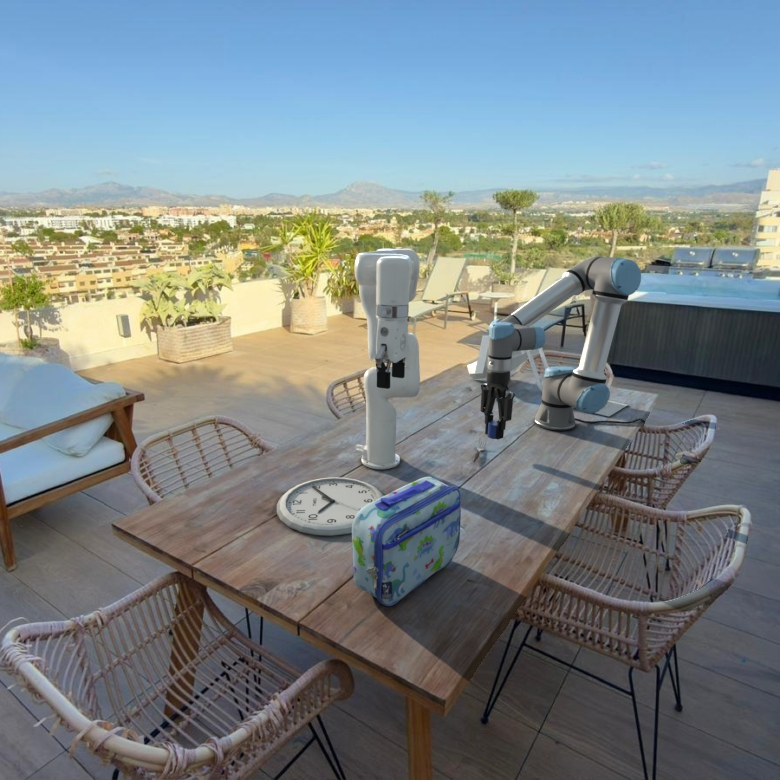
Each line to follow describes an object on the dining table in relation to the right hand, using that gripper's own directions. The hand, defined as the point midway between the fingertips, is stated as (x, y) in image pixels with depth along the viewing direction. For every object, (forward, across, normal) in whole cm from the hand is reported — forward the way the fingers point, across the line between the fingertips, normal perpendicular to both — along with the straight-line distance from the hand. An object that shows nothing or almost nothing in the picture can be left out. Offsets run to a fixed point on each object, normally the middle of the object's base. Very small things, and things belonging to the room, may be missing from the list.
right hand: (494, 435), depth 178 cm
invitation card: (+6, -8, +74) cm, 74 cm away
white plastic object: (+6, -51, +61) cm, 80 cm away
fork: (+5, 0, -7) cm, 9 cm away
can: (0, 0, 0) cm, 0 cm away
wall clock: (+5, +3, -64) cm, 64 cm away
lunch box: (+5, +39, -65) cm, 76 cm away
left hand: (-32, +16, -54) cm, 65 cm away
